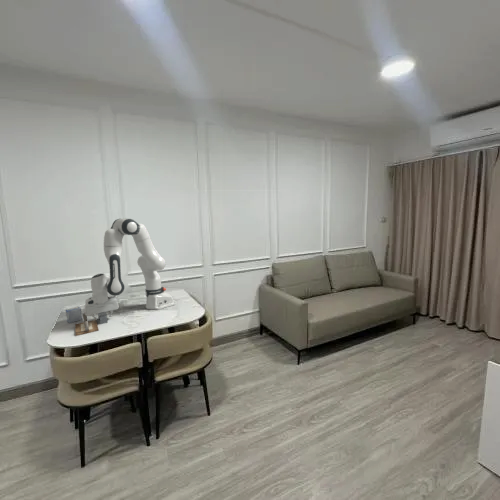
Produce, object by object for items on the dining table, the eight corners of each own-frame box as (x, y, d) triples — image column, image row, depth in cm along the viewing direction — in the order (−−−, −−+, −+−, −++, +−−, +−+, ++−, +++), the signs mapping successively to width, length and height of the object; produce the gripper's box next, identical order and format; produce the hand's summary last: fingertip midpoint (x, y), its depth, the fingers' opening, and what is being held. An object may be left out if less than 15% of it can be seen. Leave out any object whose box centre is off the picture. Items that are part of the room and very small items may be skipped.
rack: (96, 320, 189) (94, 311, 188) (98, 330, 173) (97, 320, 172) (75, 325, 183) (73, 315, 182) (75, 336, 167) (74, 325, 166)
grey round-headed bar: (106, 316, 195) (105, 310, 195) (108, 322, 185) (107, 315, 185) (98, 318, 193) (97, 311, 192) (100, 324, 183) (99, 317, 182)
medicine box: (80, 318, 195) (78, 306, 194) (82, 319, 192) (80, 307, 191) (67, 321, 189) (65, 309, 188) (69, 323, 186) (67, 310, 185)
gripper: (117, 294, 194) (119, 313, 196) (82, 300, 183) (85, 320, 185) (118, 296, 188) (120, 316, 190) (83, 303, 177) (86, 323, 180)
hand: (103, 318), depth 188 cm, fingers open, 7 cm apart
